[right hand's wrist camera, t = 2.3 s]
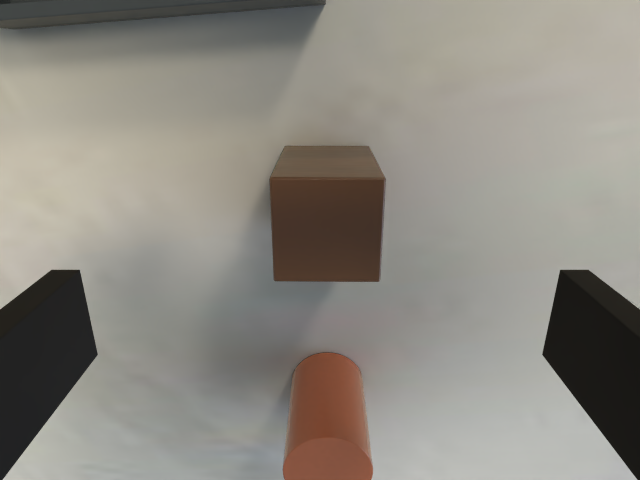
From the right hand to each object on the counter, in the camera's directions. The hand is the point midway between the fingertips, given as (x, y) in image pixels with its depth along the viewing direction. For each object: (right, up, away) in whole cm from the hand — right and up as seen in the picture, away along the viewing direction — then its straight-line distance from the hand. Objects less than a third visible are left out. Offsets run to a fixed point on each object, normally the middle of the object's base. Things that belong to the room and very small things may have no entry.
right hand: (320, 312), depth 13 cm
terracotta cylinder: (0, -7, +17) cm, 18 cm away
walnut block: (0, +5, +12) cm, 13 cm away
